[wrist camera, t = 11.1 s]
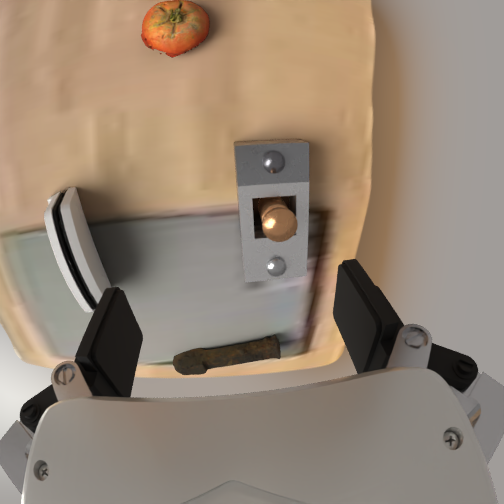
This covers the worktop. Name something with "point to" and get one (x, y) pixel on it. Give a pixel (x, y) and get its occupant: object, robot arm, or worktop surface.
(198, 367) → the dark brown rounded rod
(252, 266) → the grey latch plate
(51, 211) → the grey toaster
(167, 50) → the tomato
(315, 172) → the worktop surface
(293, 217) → the pin
